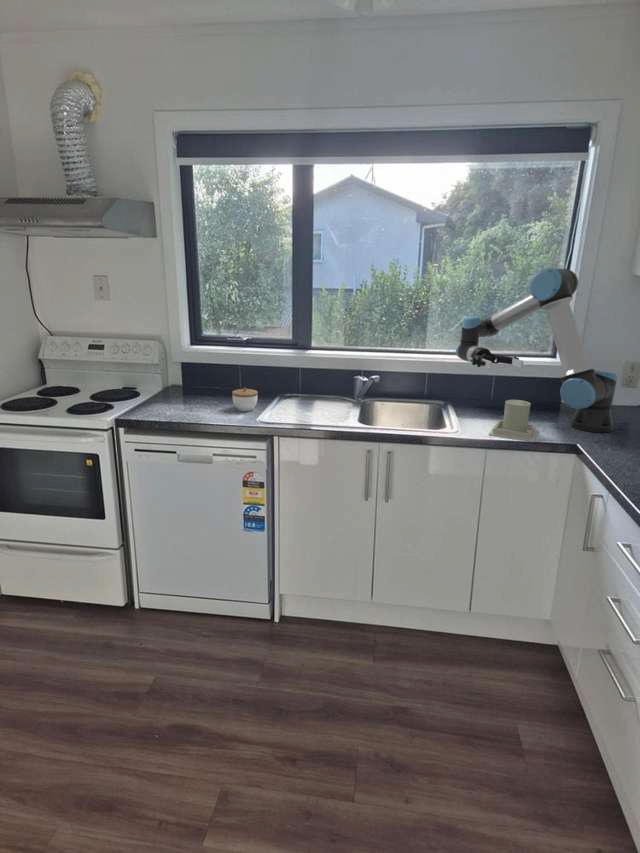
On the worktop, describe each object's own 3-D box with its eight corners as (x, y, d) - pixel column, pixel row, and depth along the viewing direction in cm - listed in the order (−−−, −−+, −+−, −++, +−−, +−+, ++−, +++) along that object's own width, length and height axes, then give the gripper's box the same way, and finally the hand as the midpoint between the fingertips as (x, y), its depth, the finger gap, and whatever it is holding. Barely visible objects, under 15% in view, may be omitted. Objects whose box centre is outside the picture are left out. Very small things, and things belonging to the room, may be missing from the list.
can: (525, 436, 200) (530, 405, 197) (500, 433, 204) (503, 402, 200) (527, 430, 208) (532, 400, 205) (503, 427, 212) (506, 397, 208)
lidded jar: (227, 408, 230) (227, 387, 227) (248, 405, 237) (248, 384, 234) (241, 414, 223) (241, 392, 220) (262, 410, 230) (262, 388, 227)
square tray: (496, 424, 216) (497, 418, 216) (538, 431, 209) (539, 424, 209) (488, 435, 203) (489, 428, 202) (533, 442, 196) (534, 435, 195)
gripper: (504, 364, 232) (533, 373, 213) (451, 365, 227) (476, 375, 207) (506, 346, 230) (536, 354, 211) (453, 347, 225) (478, 355, 205)
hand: (506, 364), depth 209 cm, fingers open, 13 cm apart
